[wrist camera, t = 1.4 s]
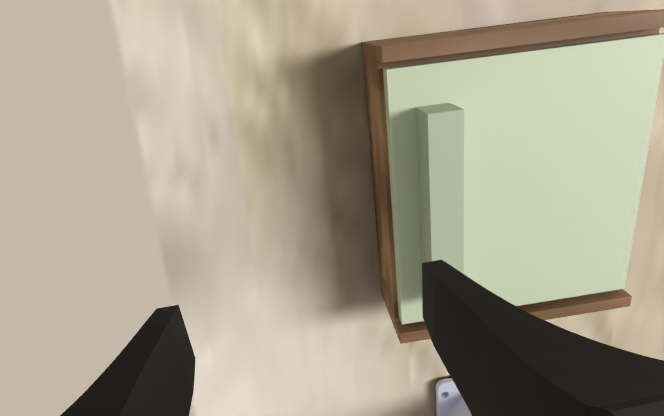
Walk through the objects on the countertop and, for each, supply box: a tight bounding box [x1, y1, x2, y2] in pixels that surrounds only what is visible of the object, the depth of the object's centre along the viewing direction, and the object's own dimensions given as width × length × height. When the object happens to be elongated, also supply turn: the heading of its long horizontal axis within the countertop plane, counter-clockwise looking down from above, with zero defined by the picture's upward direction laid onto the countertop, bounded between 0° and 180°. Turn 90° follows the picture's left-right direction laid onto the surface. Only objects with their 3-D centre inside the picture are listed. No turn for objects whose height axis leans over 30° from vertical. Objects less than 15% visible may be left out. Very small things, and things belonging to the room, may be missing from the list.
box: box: [362, 10, 664, 343], centre depth 22 cm, size 14×12×4 cm
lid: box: [383, 33, 664, 324], centre depth 20 cm, size 12×12×2 cm
